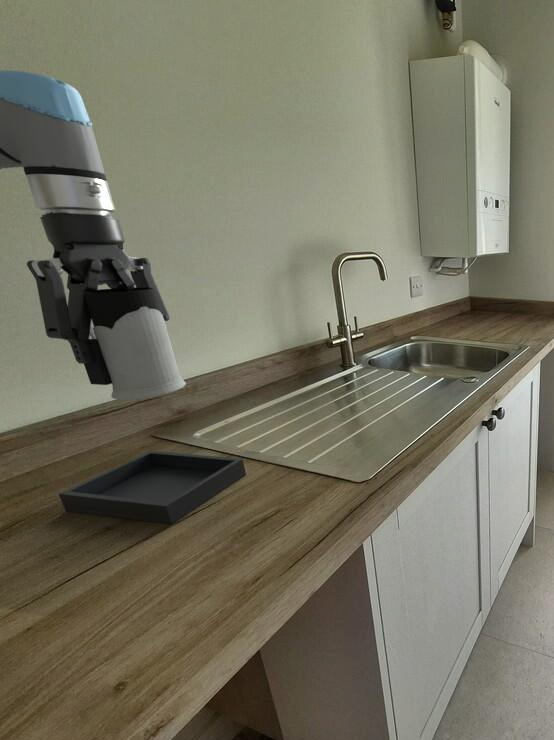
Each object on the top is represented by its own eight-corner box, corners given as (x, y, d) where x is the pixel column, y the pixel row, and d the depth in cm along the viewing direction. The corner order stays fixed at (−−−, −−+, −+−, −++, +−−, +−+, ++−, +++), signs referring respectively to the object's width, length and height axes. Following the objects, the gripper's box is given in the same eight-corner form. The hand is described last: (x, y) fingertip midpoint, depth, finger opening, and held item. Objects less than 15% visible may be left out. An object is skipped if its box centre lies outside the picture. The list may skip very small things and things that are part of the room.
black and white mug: (138, 402, 58) (103, 294, 53) (72, 392, 61) (33, 291, 57) (199, 383, 65) (174, 287, 61) (137, 375, 69) (108, 285, 64)
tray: (65, 511, 61) (58, 493, 60) (155, 465, 73) (150, 450, 72) (171, 524, 58) (165, 506, 57) (246, 474, 70) (242, 458, 69)
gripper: (1, 206, 45) (73, 400, 52) (174, 218, 64) (209, 359, 71) (-52, 207, 46) (26, 397, 53) (133, 219, 65) (172, 357, 72)
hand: (130, 375), depth 62 cm, fingers closed on black and white mug, 7 cm apart
